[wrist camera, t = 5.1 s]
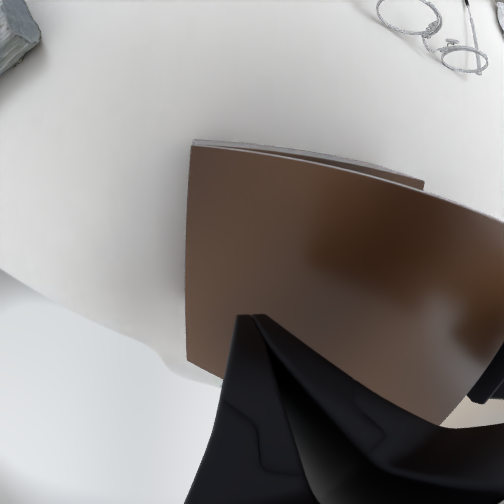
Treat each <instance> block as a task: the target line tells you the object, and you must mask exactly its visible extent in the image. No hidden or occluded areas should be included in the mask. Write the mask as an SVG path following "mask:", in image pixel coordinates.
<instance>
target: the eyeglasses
mask: <svg viewBox="0 0 504 504" xmlns="http://www.w3.org/2000/svg"><path fill="white" fill-rule="evenodd" d="M382 1H384V0H379V1H378V3H377V7H376V10H377V15H378V17H379V18H380V20H381V21H382V22H383V23H384V24H386V25H387V26H388V27H390V28H392V29H394V30H396V31H399V32H402V33H406V34H412V35H421V36H422V40H423V43H424V45H425V47H426V48H427V50H428V51H430V52H435V51H437V50H439V51H440V52H444V53H443V54H442V57H441V58H442V62H443V64H444V65H445V66H447V67H448V68H450V69H452V70H455V71H459V72H466V73H474V72H475V73H476V74H477V75H482V73H481V71H482V70H484V69H486V68H487V66H488V61H487V59H488V58H487V56H486V55H485V54H484V53H482V52H481V51H479V50H478V44H477V38H476V33H475V28H474V24H473V19H472V18H471V14H470V10H469V3H468V0H465V3H466V6H467V8H468V10H469V14H470V21H471V26H472V31H473V37H474V43H475V48H472V47H468V46H450V47H448V44H451V45H454V43H455V44H458V43H459V41H458V40H453V39H445V41H447V42H450V43H448V44H447V47H446V46H445V47H443V49H442V48H438V49H436V50H430V49H429V48H428V46H427V45H426V42H425V39H424V38H427V39H429V38H431V36H432V35H434V34H436V33H437V32H438V31H439V30H440V28H441V27H442V18H441V15H440V13H439V11H438V10H437V9H436V8H435V7H434V5H433V4H432V3H431V2H426V1H425V0H420V1H422V2H423V3H425V4H427V5H428V6H429V7H430V8H431V9H432V10H433V11H434V12H435V14H436V16H437V22H436V21H434V22H433V23H431V24H429V27H427V28H426V30H427V31H422V32H410V31H405V30H401V29H398V28H396V27H393V26H391V25H390V24H388V23H387V22H386V21H384V20H383V19H382V17H381V16H380V14H379V12H378V7H379V5H380V3H381V2H382ZM437 14H438V15H437ZM438 16H439V18H440V24H439V25H438V23H439V19H438ZM428 28H430V29H428ZM435 29H436V30H435ZM432 31H433V32H432ZM430 32H431V33H430ZM423 34H425V35H423ZM457 50H466V51H472V52H475V53H476V58H477V67H478V69H476V70H462V69H457V68H454V67H451V66H449V65H447V64H446V63H445V62H444V61H443V57H444V56H445V55H446V54H447V53H449V52H452V51H457ZM479 54H480V55H481V56H483V57H484V58H485V59H486V61H487V62H486V65H485V66H484V67H482V68H481V64H480V56H479Z"/></svg>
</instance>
